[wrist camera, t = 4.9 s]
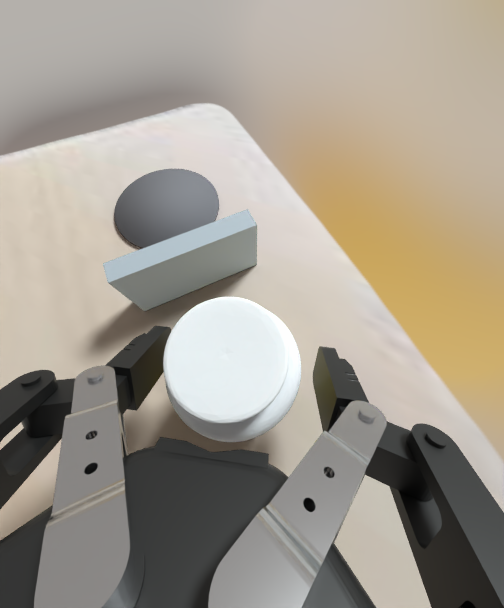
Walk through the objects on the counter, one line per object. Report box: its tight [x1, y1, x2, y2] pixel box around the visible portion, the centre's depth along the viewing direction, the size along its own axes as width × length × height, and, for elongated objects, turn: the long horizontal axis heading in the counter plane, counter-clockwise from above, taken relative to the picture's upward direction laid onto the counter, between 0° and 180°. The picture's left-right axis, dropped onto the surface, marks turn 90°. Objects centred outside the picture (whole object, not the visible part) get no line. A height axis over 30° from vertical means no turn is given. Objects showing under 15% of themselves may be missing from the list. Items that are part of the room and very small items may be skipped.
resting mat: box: [114, 169, 219, 248], centre depth 23 cm, size 10×10×1 cm
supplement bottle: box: [163, 297, 301, 442], centre depth 12 cm, size 6×6×10 cm
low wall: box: [103, 209, 257, 311], centre depth 17 cm, size 10×2×5 cm, turn 115°
